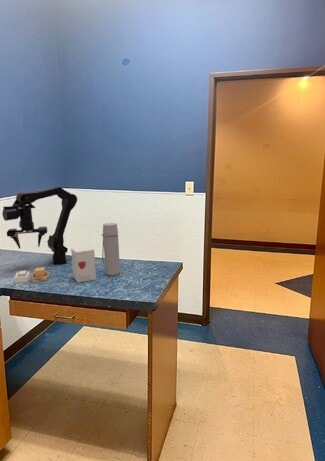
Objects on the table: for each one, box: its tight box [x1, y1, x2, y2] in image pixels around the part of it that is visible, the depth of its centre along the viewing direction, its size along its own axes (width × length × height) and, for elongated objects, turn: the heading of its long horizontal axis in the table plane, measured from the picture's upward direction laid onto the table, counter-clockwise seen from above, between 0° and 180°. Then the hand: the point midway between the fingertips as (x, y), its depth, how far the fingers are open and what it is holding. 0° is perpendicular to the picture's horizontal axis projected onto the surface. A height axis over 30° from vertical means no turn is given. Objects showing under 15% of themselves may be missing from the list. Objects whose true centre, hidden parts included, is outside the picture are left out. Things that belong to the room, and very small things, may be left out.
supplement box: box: [70, 245, 97, 283], centre depth 157 cm, size 9×9×15 cm
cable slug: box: [18, 270, 28, 277], centre depth 160 cm, size 3×5×4 cm, turn 15°
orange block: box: [34, 266, 46, 278], centre depth 159 cm, size 4×4×5 cm
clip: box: [13, 271, 31, 284], centre depth 160 cm, size 6×8×2 cm
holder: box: [30, 271, 50, 284], centre depth 160 cm, size 8×8×2 cm
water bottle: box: [101, 222, 121, 276], centre depth 162 cm, size 9×8×25 cm
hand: (29, 247), depth 171 cm, fingers open, 9 cm apart
